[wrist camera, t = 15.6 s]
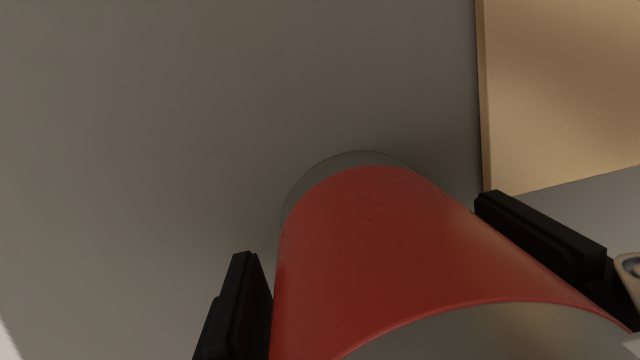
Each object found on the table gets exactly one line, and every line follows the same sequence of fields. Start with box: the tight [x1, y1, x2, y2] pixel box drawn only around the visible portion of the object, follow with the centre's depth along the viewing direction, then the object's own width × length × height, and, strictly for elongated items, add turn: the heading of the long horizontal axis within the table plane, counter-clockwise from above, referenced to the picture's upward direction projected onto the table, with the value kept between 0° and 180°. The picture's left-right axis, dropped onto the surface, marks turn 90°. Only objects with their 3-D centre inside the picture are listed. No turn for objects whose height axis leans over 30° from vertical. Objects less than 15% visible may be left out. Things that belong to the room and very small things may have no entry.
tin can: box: [268, 152, 640, 360], centre depth 8 cm, size 7×7×11 cm
